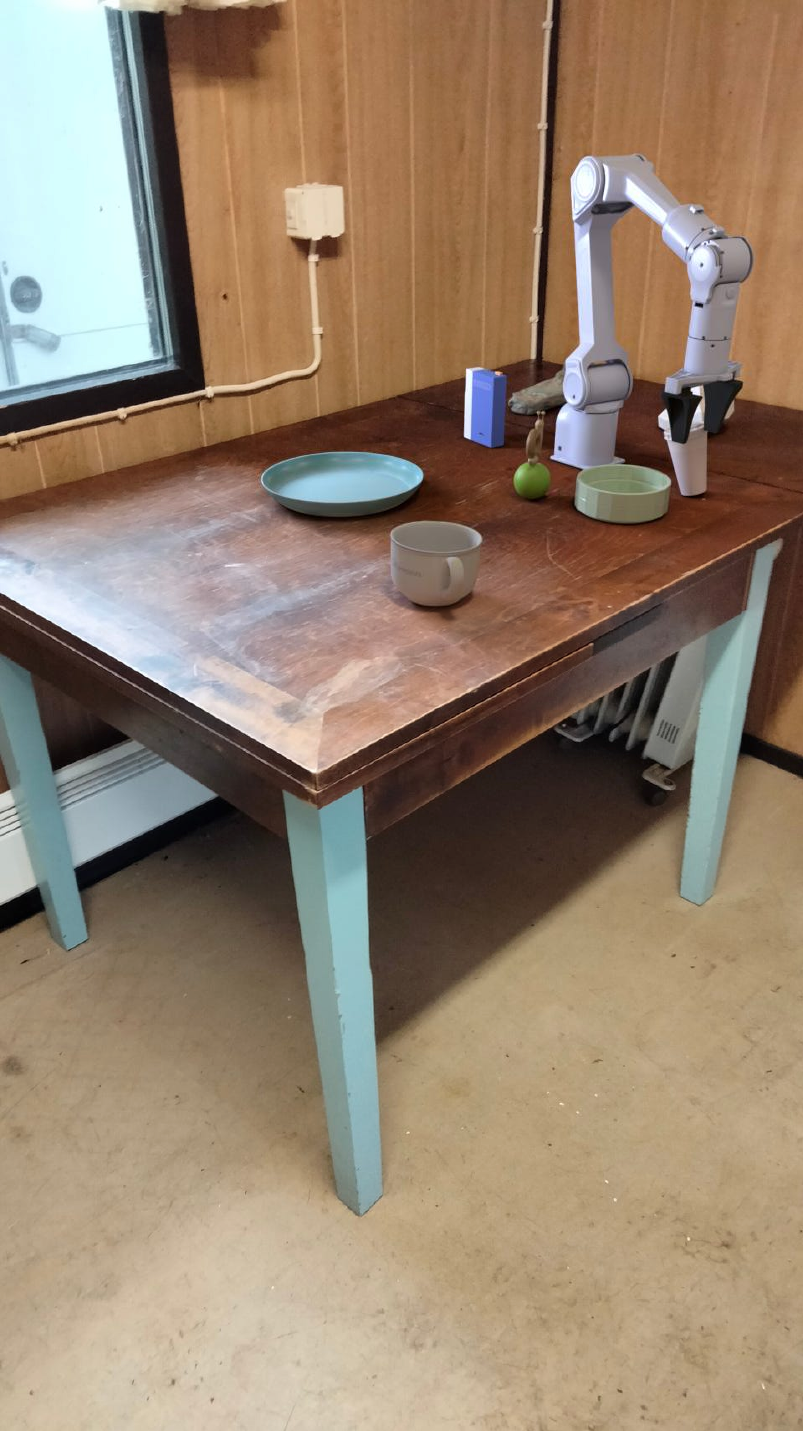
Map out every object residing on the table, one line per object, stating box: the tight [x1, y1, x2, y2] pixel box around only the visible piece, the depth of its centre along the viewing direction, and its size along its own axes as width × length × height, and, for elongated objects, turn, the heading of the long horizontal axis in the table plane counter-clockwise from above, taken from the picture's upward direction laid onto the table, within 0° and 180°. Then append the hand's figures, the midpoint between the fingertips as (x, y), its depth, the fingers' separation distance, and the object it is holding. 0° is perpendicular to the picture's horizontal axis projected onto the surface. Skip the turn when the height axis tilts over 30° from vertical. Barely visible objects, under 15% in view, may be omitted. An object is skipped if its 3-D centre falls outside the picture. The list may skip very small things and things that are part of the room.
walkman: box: [463, 366, 508, 449], centre depth 175 cm, size 8×3×12 cm, turn 33°
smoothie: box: [663, 421, 709, 497], centre depth 152 cm, size 6×6×14 cm
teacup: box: [389, 520, 483, 607], centre depth 122 cm, size 14×11×8 cm
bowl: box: [573, 463, 672, 524], centre depth 149 cm, size 13×13×4 cm
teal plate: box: [260, 451, 424, 518], centre depth 155 cm, size 24×24×3 cm
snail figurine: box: [513, 410, 552, 500], centre depth 151 cm, size 5×6×12 cm
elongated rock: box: [507, 360, 603, 416], centre depth 203 cm, size 35×5×10 cm
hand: (695, 436), depth 146 cm, fingers open, 7 cm apart
